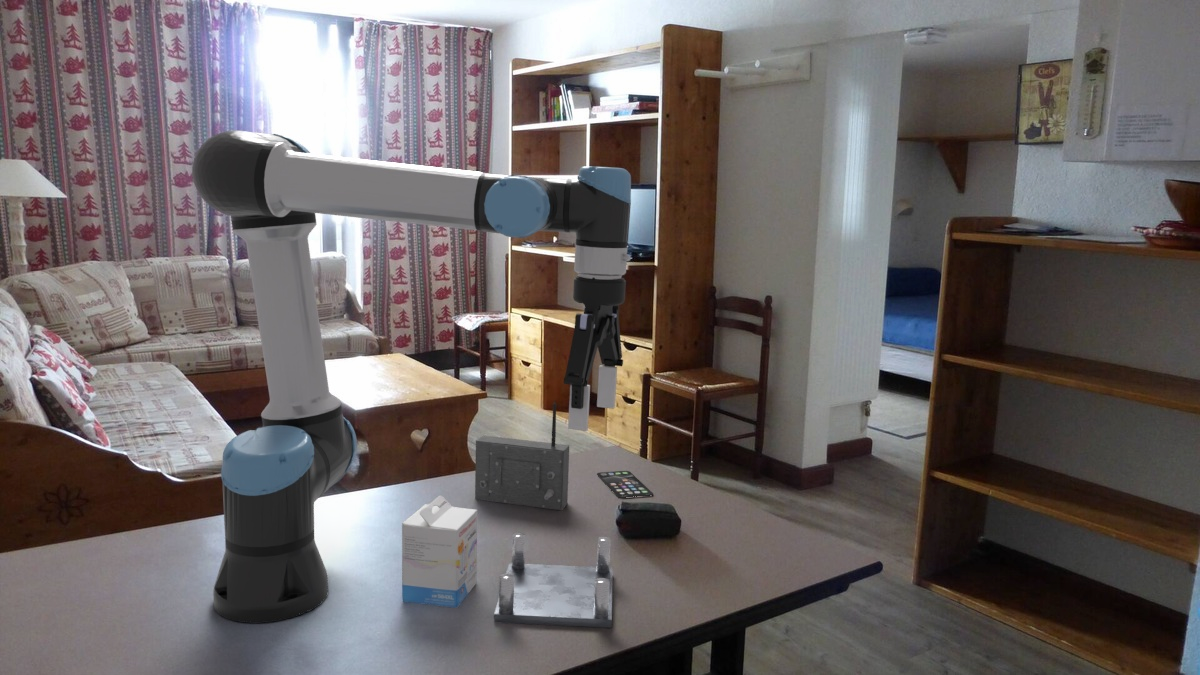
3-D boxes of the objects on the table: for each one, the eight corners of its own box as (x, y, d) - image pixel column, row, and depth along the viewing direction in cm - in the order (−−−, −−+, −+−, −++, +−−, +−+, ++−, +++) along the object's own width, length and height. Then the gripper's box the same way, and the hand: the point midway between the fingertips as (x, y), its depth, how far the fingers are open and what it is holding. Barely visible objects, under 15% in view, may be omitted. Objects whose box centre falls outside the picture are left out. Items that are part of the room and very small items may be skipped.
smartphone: (629, 470, 181) (655, 494, 167) (628, 473, 181) (654, 498, 167) (595, 472, 179) (618, 497, 165) (595, 475, 179) (618, 500, 165)
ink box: (456, 609, 120) (457, 519, 118) (400, 601, 122) (400, 512, 120) (477, 582, 129) (478, 497, 126) (424, 575, 130) (425, 491, 128)
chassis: (493, 622, 117) (494, 579, 116) (508, 570, 133) (509, 532, 132) (611, 627, 117) (613, 585, 116) (612, 575, 133) (614, 537, 132)
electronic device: (567, 503, 162) (571, 400, 159) (557, 516, 156) (560, 409, 152) (480, 492, 166) (482, 391, 162) (467, 504, 160) (468, 399, 156)
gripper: (599, 286, 112) (590, 443, 115) (646, 270, 135) (638, 402, 139) (545, 281, 114) (538, 436, 117) (600, 266, 137) (593, 396, 141)
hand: (592, 418), depth 128 cm, fingers open, 13 cm apart
